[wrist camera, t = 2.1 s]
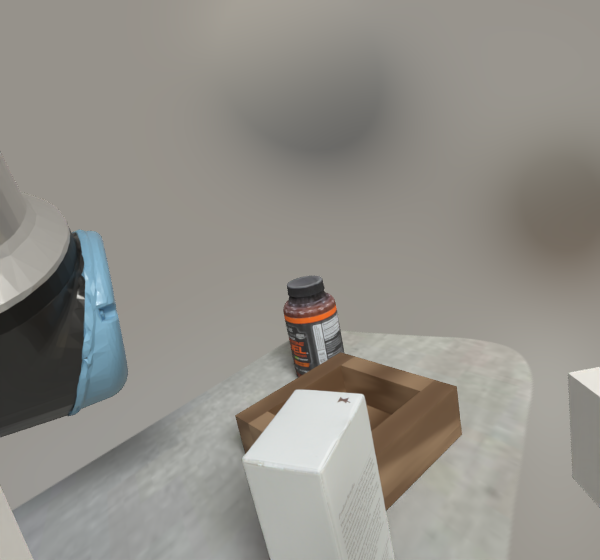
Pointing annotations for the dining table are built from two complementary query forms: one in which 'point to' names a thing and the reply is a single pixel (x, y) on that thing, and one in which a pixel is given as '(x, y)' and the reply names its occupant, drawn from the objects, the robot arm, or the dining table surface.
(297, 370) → the supplement bottle
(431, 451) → the walnut tray
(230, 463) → the dining table surface
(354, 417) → the skincare box
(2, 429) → the robot arm
